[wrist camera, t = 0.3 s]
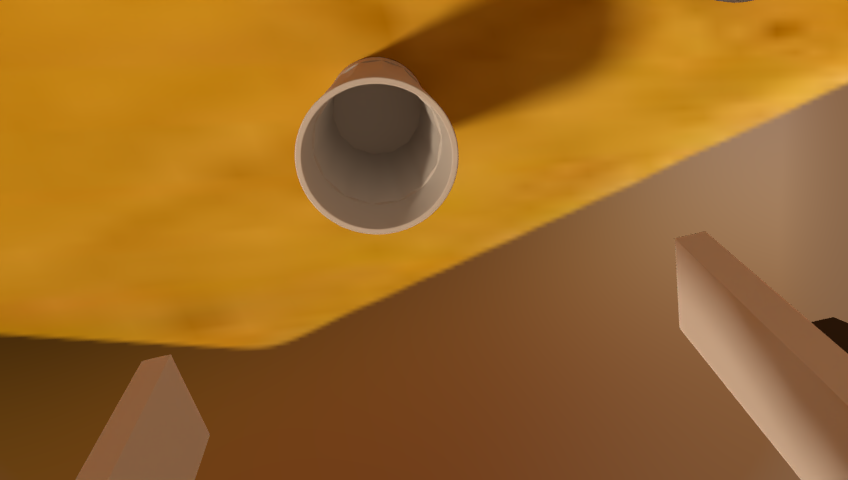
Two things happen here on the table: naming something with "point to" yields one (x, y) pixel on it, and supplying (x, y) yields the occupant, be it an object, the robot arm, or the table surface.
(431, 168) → the cup
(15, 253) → the table surface
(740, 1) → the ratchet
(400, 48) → the table surface
